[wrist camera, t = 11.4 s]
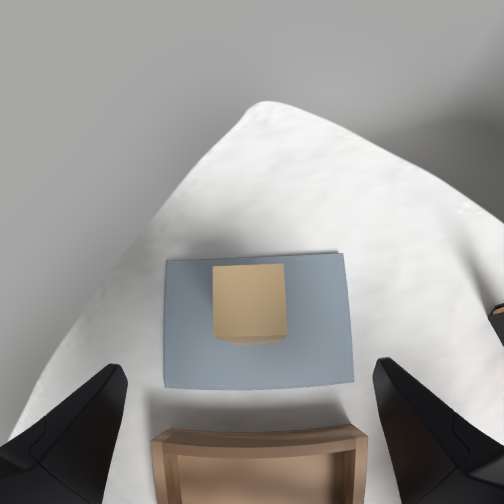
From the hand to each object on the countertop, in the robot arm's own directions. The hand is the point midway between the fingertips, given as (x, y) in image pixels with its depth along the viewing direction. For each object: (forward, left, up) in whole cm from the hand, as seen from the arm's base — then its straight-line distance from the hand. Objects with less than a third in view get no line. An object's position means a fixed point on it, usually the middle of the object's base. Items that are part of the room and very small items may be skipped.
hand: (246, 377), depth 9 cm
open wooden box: (-10, -3, -12) cm, 16 cm away
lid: (+3, +1, -13) cm, 13 cm away
